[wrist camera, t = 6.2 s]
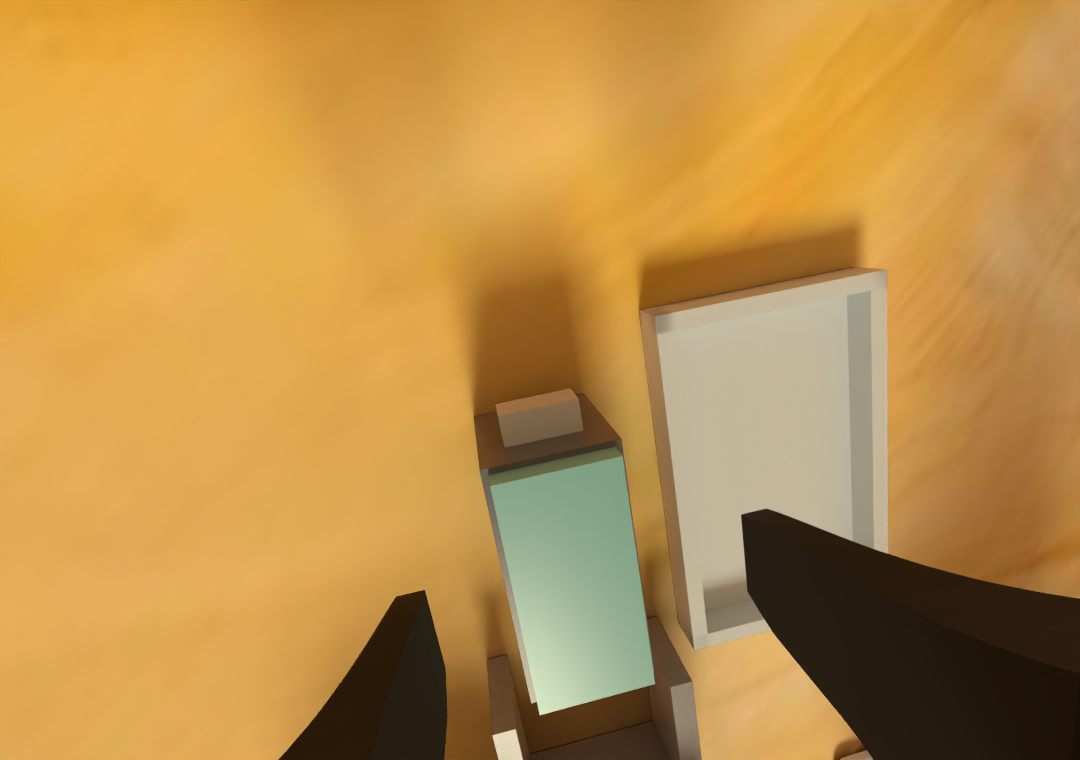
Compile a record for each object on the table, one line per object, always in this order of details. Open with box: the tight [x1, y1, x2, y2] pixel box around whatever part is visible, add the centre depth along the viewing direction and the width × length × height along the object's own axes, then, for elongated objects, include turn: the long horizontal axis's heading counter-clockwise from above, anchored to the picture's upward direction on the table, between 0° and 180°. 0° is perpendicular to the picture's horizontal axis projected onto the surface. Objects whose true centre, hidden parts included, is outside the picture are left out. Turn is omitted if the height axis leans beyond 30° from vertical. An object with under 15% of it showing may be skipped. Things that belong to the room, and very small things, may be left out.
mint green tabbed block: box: [474, 388, 655, 715], centre depth 18 cm, size 4×9×6 cm, turn 9°
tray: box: [639, 267, 888, 651], centre depth 21 cm, size 8×13×2 cm, turn 9°
